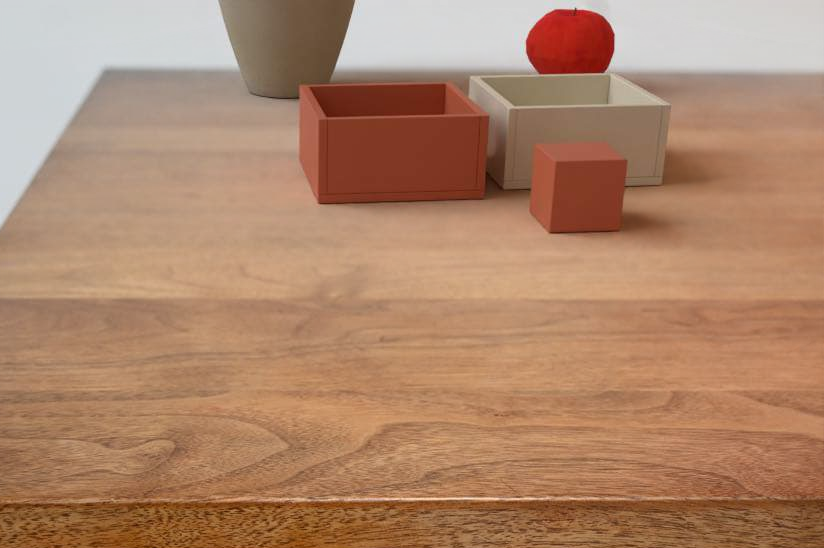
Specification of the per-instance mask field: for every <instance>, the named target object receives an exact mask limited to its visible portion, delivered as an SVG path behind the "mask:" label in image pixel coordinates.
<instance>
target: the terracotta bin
mask: <svg viewBox="0 0 824 548" xmlns="http://www.w3.org/2000/svg"><path fill="white" fill-rule="evenodd" d="M298 123H299V124H298V125H299V126H298V127H299V130H298V131H299V135H298V136H299V141H298V142H299V143H298V144H299V148H298V149H299V150H298V151H299V154H298V159H299V162H300V165H301V167H302V170H303V172H304V174H305V176H306V178H307V181H308V183H309V185H310V188H311V190H312V192H313V195H314V198H315V200H316V202H317V203H318V204H345V203H347V204H348V203H350V204H351V203H378V202H379V203H380V202H381V203H383V202H385V203H386V202H412V201H415V202H416V201H417V202H418V201H448V200H449V201H451V200H452V201H453V200H483V199H485V192H486V191H485V190H486V175H487V171H486V161H487V146H488V130H489V115H488V114H487V113H486V112H485V111H483V110H482V109H481V108H480V107H479V106H478V105H477V104H476V103H475V102H473V101H472V100H471V99H470V98H469V95H467V94H466V93H464V91H463V90H461V88H459V87H458V86H457V85H456V84H455V83H453V81H425V82H423V81H422V82H419V81H418V82H416V81H415V82H378V83H377V82H375V83H372V82H371V83H337V84H336V83H329V84H320V85H300V97H299V122H298Z"/></svg>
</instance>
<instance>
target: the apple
mask: <svg viewBox="0 0 824 548" xmlns="http://www.w3.org/2000/svg"><path fill="white" fill-rule="evenodd" d="M615 35H616V34H615V32H614V29H613V27H612V25H611V24H610V22H609V21H608V20H607V19H606V18H605V16H604V15H602V14H600V13H598V12H595V11H593V10H587V9H577V7H575V6H574V9H571V8H570V9H569V8H555V9H553V10H551V11H549V12H547V13H545V14H544V15H543V16H541V18H540V19H538V21H537V22H535V23H534V25H533V26H532V28H531V29H530V30H529V31H528V35H527V37H526V39H525V54H526V56H527V59H528V61H529V63H530V64H531V65H532V66H533V68H534V70H535V71H536V72H537V74H538V75H544V74H593V73H606V71H607V70H608V69H609V66H610V64H611V61H612V59H613V56H614V53H615V44H616V39H615V38H616V36H615Z"/></svg>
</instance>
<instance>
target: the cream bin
mask: <svg viewBox="0 0 824 548" xmlns="http://www.w3.org/2000/svg"><path fill="white" fill-rule="evenodd" d="M468 86H469V87H468V97H469V98H470V99H471V100H472V101H473V102H475V103H476V104H477V105H478V106H479V107H480V108H481V109H482V110H483V111H485V112H486V113H487V114H488V115H489V130H488V146H487V161H486V174H488V175H489V176H490V177H491V178H492V179H493V180H494V181H495V183H497V184H498V186H499V187H500V188H501V189H502V190H506V191H507V190H531V183H532V171H533V159H534V146H535V144H536V143H571V142H604V143H606V144H607V145H608V146H610V147H611V148H612V149H614V150H615V151H617V152H618V153H619V154H621V155H622V156H623V157H625V158H626V159H627V160H628V162H627V171H626V180H625V187H641V186H662V185H663V184H662V183H663V176H664V167H665V161H666V160H665V159H666V151H667V144H668V143H667V142H668V134H669V127H670V120H671V111H672V110H671V109H672V104H671V103H670V102H667V101H666V100H664V99H662V98H660V97H659V96H657V95H655V94H653V93H651V92H649V90H646V89H645V88H643V87H641V86H639V85H637V84H635V83H634V82H632V81H630V80H628V79H626V78H625V77H623V76H621V75H619V74H617V73H616V72H609V73H608V72H604V73H593V74H544V75H539V74H503V75H501V74H497V75H496V74H495V75H470V76H469V85H468Z"/></svg>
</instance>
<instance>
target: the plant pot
mask: <svg viewBox="0 0 824 548" xmlns="http://www.w3.org/2000/svg"><path fill="white" fill-rule="evenodd" d="M217 2H218V5H219V9H220V12H221V15H222V19H223V23H224V26H225V30H226V32H227V33H226V34H227V36H228V40H229V42H230V46H231V48H232V51H233V54H234V57H235V60H236V64H237V66H238V68H239V71H240V74H241V76H242V79H243V81H244V83H245V86H246V89H247V91H248V92H249V93H250V94H254V95H257V96H259V97H266V98H279V99H295V98H296V99H297V98H299V99H300V85H320V84H330V83H331V80H332V77H333V74H334V71H335V69H336V65H337V63H338V60H339V58H340V54H341V52H342V48H343V45H344V42H345V38H346V36H347V33H348V29H349V26H350V22H351V18H352V15H353V11H354V7H355V4H356V0H217Z"/></svg>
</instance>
